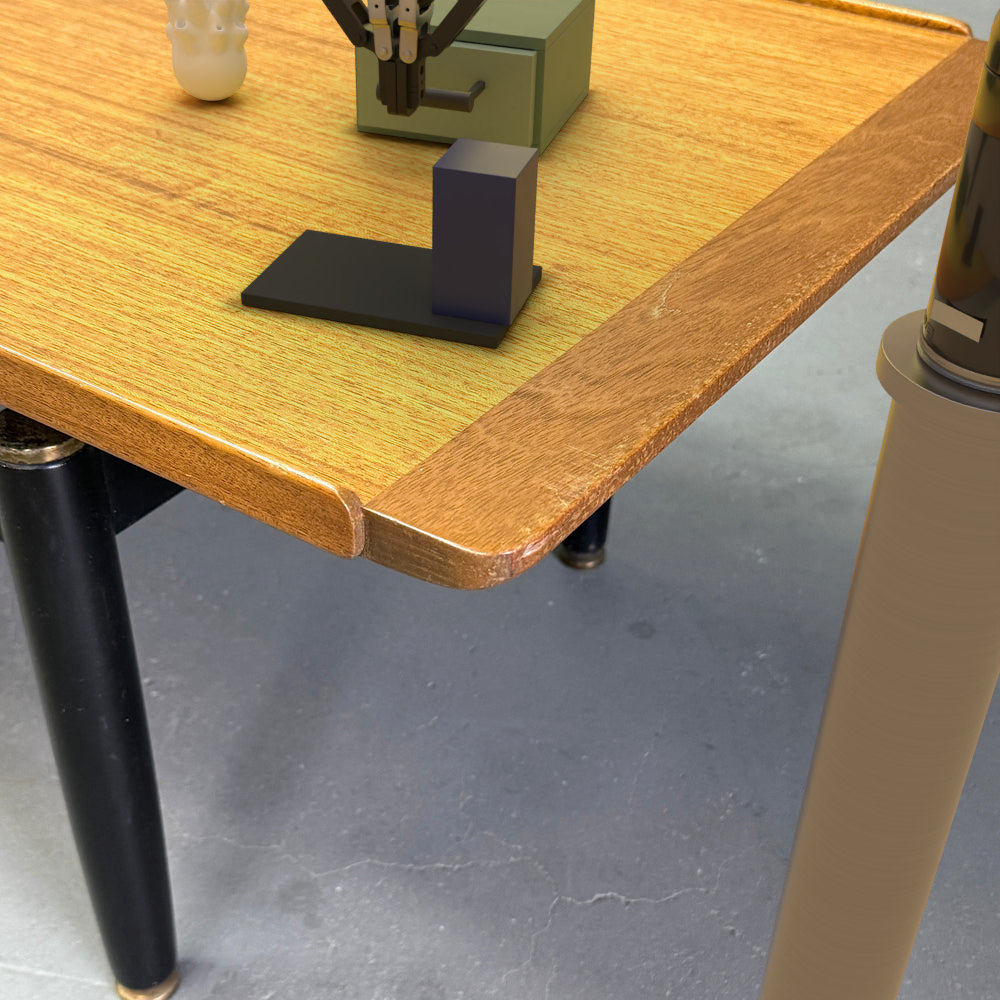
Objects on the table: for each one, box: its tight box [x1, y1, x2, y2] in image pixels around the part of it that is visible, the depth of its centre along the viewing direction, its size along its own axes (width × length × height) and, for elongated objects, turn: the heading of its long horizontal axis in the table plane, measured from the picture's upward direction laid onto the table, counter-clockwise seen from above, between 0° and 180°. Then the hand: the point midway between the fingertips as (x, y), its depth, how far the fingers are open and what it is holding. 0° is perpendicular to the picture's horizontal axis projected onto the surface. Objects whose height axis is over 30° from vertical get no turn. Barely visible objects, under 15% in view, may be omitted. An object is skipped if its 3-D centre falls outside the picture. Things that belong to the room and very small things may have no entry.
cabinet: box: [354, 0, 596, 157], centre depth 110 cm, size 16×15×9 cm
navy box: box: [431, 138, 539, 327], centre depth 80 cm, size 5×5×9 cm
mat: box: [240, 228, 543, 349], centre depth 85 cm, size 16×10×1 cm, turn 73°
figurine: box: [164, 0, 250, 102], centre depth 110 cm, size 7×7×12 cm
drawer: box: [356, 40, 537, 147], centre depth 107 cm, size 19×14×7 cm
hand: (403, 112), depth 95 cm, fingers closed
